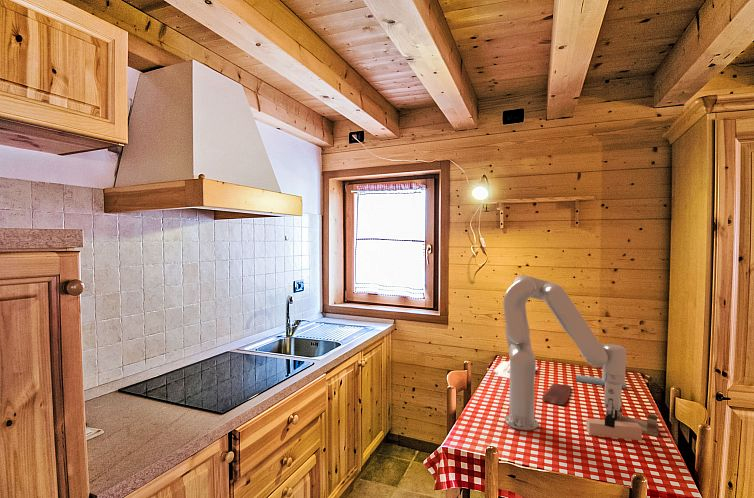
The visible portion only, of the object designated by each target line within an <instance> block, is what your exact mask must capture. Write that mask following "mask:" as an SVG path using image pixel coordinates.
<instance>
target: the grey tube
mask: <svg viewBox="0 0 754 498" xmlns="http://www.w3.org/2000/svg"><path fill="white" fill-rule="evenodd" d="M575 381H576V382H579V383H585V384H591V385H592V384H593V385H598V386H604V387H605V381H603V380H602V377H601V378H600V377H594V376H587V375H580V374H575ZM626 388H627V382H626V381H625V384H623V385H622V389H623V390H627V389H626Z"/></svg>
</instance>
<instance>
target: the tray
mask: <svg viewBox="0 0 754 498" xmlns="http://www.w3.org/2000/svg"><path fill="white" fill-rule="evenodd" d="M538 369H539V366H536V367H535V372H536V371H538ZM493 373H497V374H496V377H501V378H505V379H510V360H508V361H506V360H503V361H502V362H499V364H498V365H497V366H496V367H495V368H494V369H493Z"/></svg>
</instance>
